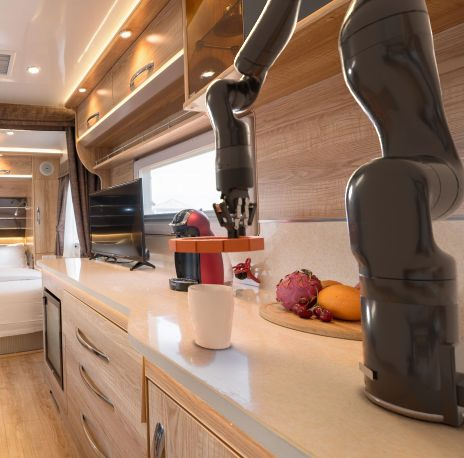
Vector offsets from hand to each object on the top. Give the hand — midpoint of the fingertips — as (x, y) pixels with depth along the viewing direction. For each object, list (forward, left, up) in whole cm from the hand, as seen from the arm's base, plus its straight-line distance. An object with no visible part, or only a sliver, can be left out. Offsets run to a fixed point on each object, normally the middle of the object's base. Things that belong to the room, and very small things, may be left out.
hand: (237, 245), depth 74 cm
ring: (0, +8, 0) cm, 8 cm away
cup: (+1, +10, -20) cm, 23 cm away
